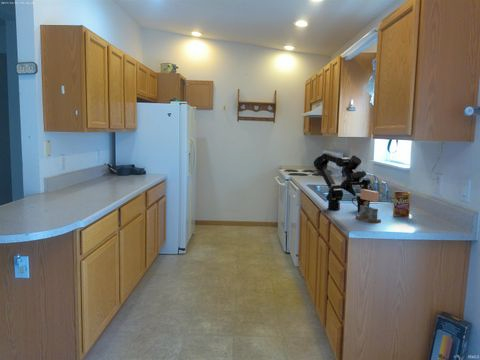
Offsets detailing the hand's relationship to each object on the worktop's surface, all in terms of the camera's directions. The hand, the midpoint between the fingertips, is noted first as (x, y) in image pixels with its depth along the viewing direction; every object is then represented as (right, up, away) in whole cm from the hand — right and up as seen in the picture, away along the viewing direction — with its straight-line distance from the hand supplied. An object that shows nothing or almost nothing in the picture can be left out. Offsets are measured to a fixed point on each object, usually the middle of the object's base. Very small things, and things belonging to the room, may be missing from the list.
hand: (361, 195), depth 226 cm
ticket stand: (+2, -14, -4) cm, 15 cm away
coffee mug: (+6, -11, +23) cm, 26 cm away
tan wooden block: (+2, -2, -6) cm, 7 cm away
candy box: (+26, -13, +8) cm, 30 cm away
